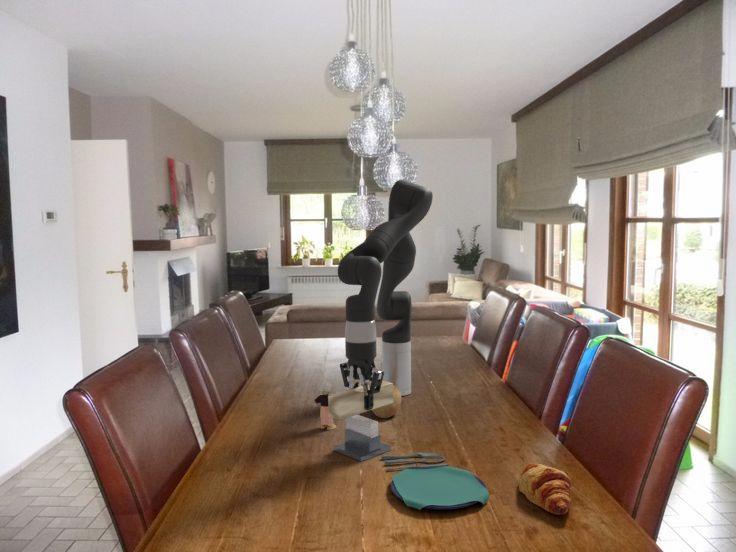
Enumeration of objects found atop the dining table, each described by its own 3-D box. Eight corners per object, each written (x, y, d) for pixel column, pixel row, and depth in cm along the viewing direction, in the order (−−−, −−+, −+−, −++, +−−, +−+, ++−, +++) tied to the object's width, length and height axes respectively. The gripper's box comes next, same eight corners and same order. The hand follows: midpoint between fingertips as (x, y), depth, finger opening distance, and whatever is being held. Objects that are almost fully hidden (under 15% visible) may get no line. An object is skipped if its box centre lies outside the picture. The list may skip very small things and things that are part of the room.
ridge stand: (333, 450, 148) (333, 418, 147) (363, 439, 155) (363, 409, 154) (361, 461, 141) (360, 428, 140) (391, 449, 147) (390, 418, 147)
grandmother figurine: (341, 426, 165) (341, 381, 163) (336, 431, 161) (335, 384, 160) (316, 423, 167) (315, 379, 166) (310, 428, 164) (309, 382, 162)
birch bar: (328, 416, 142) (328, 395, 141) (381, 399, 154) (381, 380, 154) (339, 420, 139) (339, 399, 138) (393, 402, 151) (392, 383, 151)
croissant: (516, 490, 133) (499, 459, 132) (555, 468, 133) (539, 437, 132) (550, 539, 112) (530, 503, 111) (597, 512, 112) (578, 476, 111)
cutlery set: (403, 521, 113) (403, 509, 113) (372, 461, 142) (372, 452, 142) (502, 512, 116) (502, 500, 116) (453, 455, 146) (453, 446, 146)
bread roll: (399, 403, 184) (399, 378, 184) (403, 419, 169) (403, 392, 169) (368, 404, 184) (367, 378, 183) (369, 420, 169) (369, 393, 169)
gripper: (392, 340, 142) (393, 410, 144) (352, 332, 153) (354, 398, 154) (369, 344, 137) (370, 417, 139) (330, 336, 148) (331, 404, 149)
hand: (362, 407), depth 147 cm, fingers closed on birch bar, 4 cm apart
